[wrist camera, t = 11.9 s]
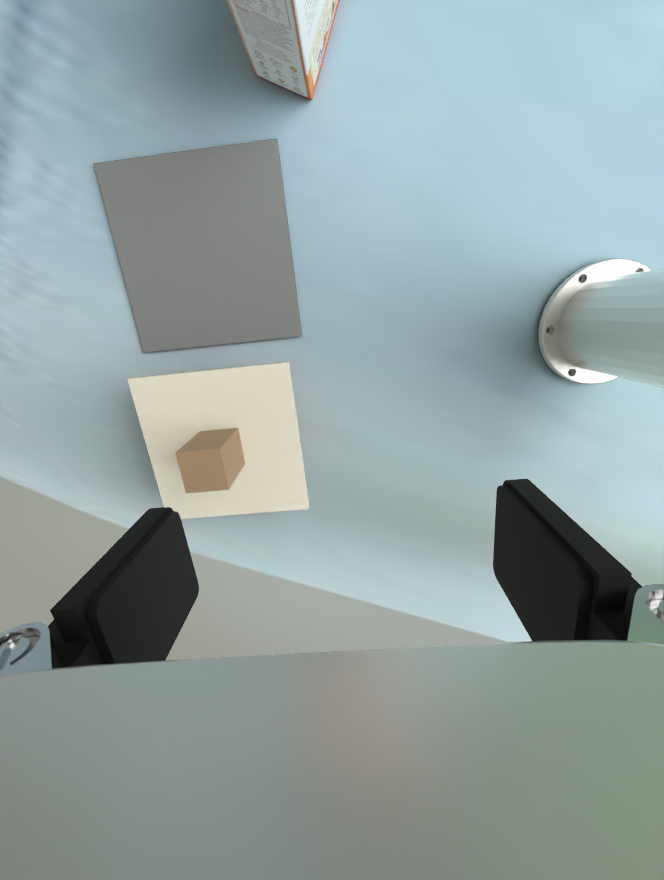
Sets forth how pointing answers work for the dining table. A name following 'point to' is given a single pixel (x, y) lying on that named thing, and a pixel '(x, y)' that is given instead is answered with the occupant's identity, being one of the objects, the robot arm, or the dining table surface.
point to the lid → (223, 440)
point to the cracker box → (286, 39)
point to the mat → (203, 245)
